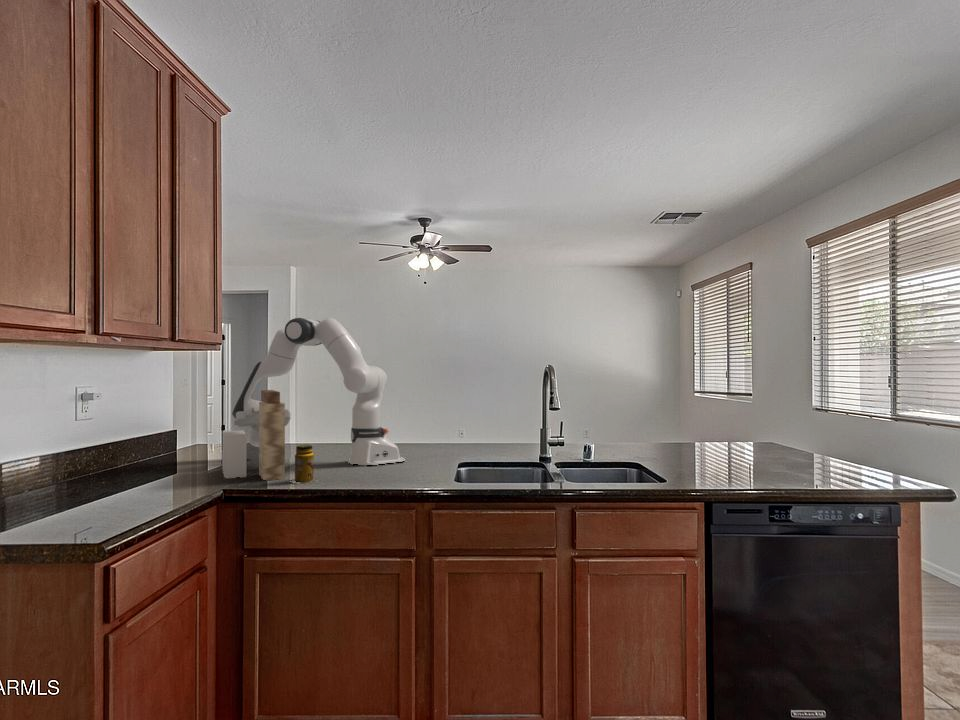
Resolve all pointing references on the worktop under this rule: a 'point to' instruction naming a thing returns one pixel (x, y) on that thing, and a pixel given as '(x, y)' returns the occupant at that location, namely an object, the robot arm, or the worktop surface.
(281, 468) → the stand
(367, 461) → the robot arm
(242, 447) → the step
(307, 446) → the condiment
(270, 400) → the bar
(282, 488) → the worktop surface
